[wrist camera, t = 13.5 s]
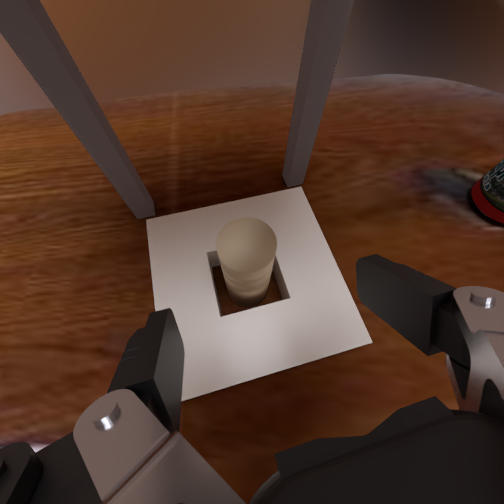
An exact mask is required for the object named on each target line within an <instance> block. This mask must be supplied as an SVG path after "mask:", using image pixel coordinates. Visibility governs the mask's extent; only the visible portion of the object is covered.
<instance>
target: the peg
mask: <svg viewBox="0 0 504 504" xmlns="http://www.w3.org/2000/svg"><path fill="white" fill-rule="evenodd" d="M216 249H217V253H218V257H219V261H220V264H221V268H222V272H223V275H224V279H225V283H226V286H227V290H228V293H229V296H230V298H231V299H232V301H233V302H234V303H236V304H237V305H239V306H242V307H253V306H256V305H258V304H260V303H261V302H262V301H263V300H264V298H265V297H266V295H267V291H268V286H269V282H270V277H271V273H272V268H273V263H274V259H275V254H276V249H277V239H276V235H275V233H274V231H273V230H272V228H271V227H270V226H269V225H268V224H266V223H265V222H263V221H261V220H259V219H256V218H251V217H242V218H237V219H234V220H232V221H230V222H228V223H227V224H226V225H225V226H224V227H223V228H222V229H221V230H220V232H219V233H218V236H217V239H216Z"/></svg>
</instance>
